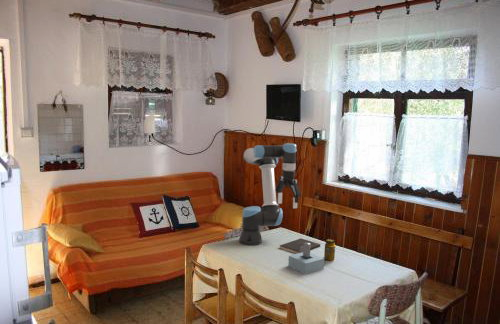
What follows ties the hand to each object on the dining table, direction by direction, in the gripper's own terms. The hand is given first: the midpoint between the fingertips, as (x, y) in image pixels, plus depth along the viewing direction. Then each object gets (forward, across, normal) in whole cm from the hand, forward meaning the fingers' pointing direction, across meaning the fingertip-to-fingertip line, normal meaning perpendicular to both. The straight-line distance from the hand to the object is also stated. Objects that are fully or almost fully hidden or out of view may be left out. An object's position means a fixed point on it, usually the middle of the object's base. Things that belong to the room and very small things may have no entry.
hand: (287, 205), depth 242 cm
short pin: (+32, +5, +10) cm, 34 cm away
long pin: (+32, +18, 0) cm, 36 cm away
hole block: (+32, +18, 0) cm, 36 cm away
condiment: (+32, +16, +20) cm, 41 cm away
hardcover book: (+32, -9, +21) cm, 40 cm away
